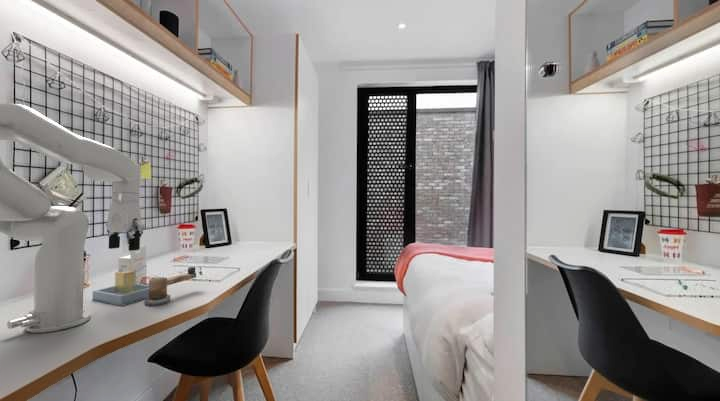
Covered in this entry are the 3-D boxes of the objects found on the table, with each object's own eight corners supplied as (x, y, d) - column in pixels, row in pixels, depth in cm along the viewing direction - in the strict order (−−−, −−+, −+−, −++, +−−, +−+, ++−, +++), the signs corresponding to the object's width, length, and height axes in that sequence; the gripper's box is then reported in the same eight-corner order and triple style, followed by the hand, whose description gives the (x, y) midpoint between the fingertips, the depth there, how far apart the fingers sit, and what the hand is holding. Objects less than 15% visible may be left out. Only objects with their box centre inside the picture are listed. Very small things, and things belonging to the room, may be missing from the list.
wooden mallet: (156, 299, 99) (156, 278, 99) (145, 297, 101) (145, 276, 101) (199, 286, 115) (199, 267, 115) (188, 284, 117) (189, 266, 117)
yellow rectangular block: (123, 297, 104) (123, 273, 104) (115, 296, 105) (115, 272, 105) (135, 294, 107) (135, 271, 107) (127, 292, 109) (127, 269, 109)
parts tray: (120, 305, 99) (121, 296, 98) (92, 300, 103) (92, 291, 103) (155, 295, 109) (155, 286, 109) (128, 290, 114) (129, 282, 114)
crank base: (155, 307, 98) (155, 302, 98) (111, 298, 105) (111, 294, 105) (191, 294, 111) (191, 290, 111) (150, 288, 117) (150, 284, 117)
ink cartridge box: (134, 282, 124) (134, 245, 124) (146, 283, 124) (147, 246, 123) (117, 289, 115) (117, 249, 115) (130, 289, 115) (131, 249, 115)
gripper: (96, 197, 105) (94, 248, 105) (132, 198, 99) (130, 252, 99) (120, 198, 112) (118, 246, 112) (155, 199, 106) (153, 249, 106)
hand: (123, 249), depth 105 cm, fingers open, 9 cm apart
